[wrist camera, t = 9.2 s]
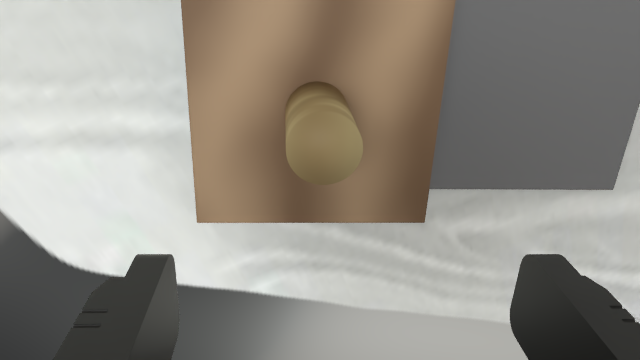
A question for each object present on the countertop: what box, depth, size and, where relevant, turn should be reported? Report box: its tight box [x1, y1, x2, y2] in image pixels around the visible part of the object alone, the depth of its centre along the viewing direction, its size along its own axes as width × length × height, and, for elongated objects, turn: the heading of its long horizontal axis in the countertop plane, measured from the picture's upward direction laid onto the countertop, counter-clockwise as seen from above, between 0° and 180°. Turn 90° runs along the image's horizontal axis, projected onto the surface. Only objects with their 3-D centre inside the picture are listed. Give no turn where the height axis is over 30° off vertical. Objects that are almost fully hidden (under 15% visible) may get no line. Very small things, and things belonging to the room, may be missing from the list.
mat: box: [429, 0, 640, 190], centre depth 31 cm, size 14×14×1 cm
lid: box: [181, 0, 456, 223], centre depth 22 cm, size 12×12×6 cm
